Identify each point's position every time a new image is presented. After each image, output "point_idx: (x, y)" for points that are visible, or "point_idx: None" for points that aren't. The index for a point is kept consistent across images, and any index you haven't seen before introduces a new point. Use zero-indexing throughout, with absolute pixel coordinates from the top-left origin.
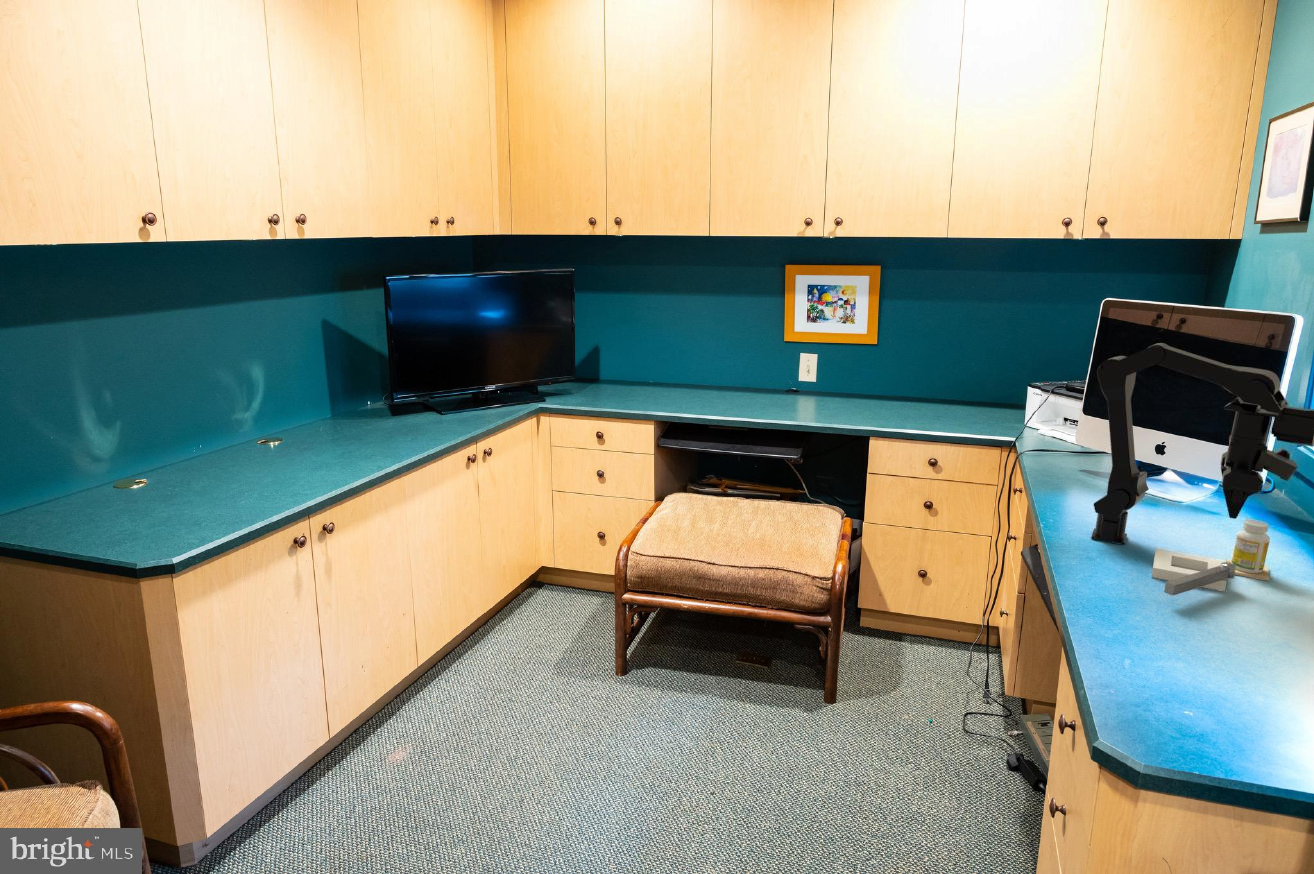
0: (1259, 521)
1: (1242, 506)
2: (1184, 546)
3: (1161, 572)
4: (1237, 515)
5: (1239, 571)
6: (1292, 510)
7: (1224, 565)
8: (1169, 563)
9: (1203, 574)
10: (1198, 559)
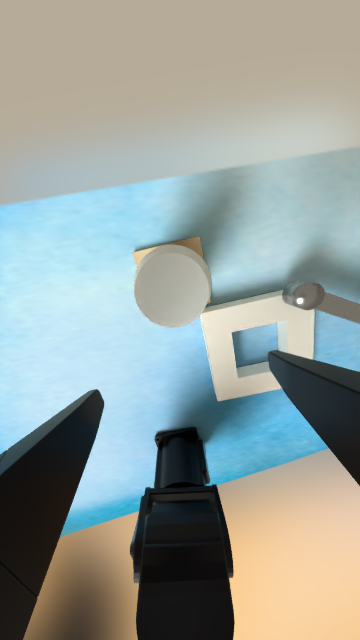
0: (143, 288)
1: (353, 371)
2: (130, 375)
3: None
4: (289, 354)
5: None
6: None
7: (320, 302)
8: None
9: None
10: (227, 346)
